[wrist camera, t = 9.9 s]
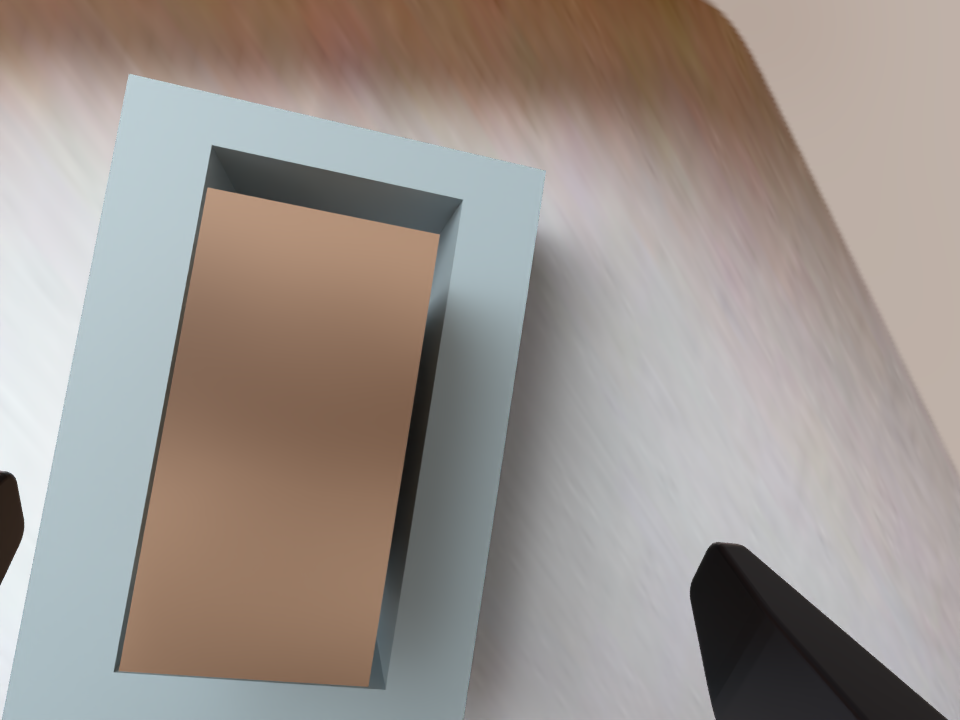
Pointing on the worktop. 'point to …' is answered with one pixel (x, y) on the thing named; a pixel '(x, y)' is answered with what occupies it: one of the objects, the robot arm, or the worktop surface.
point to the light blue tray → (148, 377)
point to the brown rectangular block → (281, 446)
